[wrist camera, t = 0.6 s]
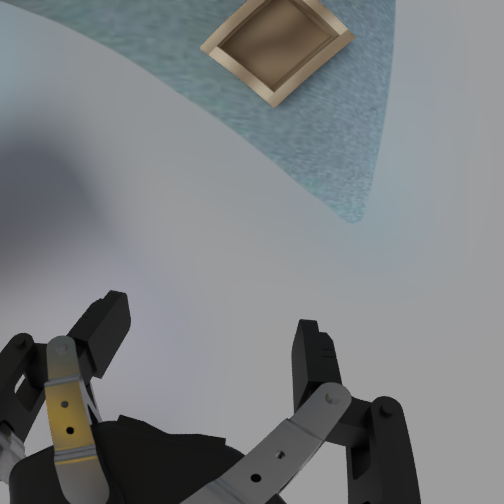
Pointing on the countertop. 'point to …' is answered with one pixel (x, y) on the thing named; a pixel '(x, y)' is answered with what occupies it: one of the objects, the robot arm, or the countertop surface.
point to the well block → (277, 44)
